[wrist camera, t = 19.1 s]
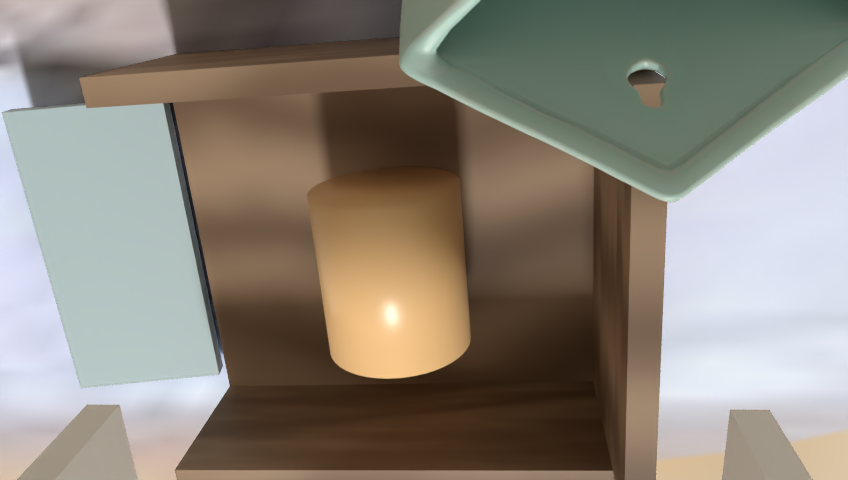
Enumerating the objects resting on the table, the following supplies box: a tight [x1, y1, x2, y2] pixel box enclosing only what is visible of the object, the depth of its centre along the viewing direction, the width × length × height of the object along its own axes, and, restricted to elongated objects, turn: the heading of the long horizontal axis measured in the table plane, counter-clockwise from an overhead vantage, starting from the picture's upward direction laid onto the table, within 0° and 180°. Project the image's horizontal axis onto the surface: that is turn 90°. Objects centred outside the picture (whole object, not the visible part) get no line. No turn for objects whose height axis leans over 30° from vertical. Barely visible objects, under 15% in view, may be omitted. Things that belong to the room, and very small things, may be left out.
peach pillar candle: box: [307, 166, 471, 379], centre depth 34 cm, size 8×7×7 cm
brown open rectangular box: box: [79, 37, 667, 480], centre depth 33 cm, size 20×22×12 cm
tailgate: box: [2, 103, 223, 388], centre depth 39 cm, size 16×1×8 cm
